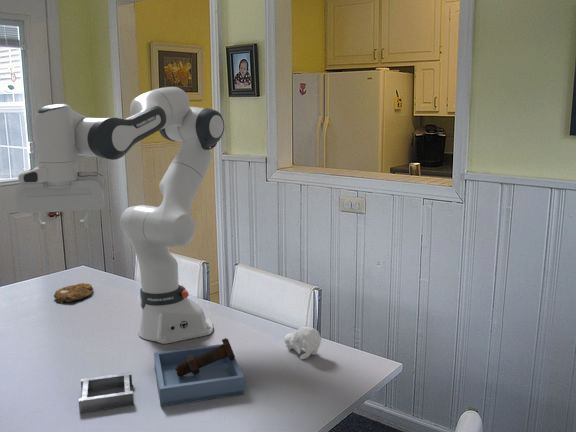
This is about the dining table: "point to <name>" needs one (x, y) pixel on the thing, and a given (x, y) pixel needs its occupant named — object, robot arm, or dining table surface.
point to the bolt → (205, 359)
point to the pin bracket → (106, 400)
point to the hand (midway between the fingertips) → (63, 228)
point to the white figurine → (304, 341)
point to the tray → (195, 377)
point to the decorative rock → (73, 292)
